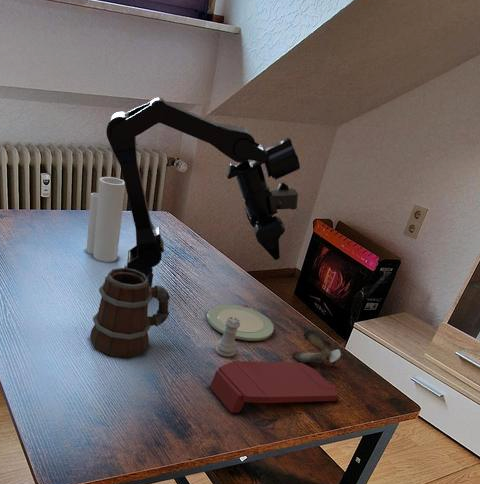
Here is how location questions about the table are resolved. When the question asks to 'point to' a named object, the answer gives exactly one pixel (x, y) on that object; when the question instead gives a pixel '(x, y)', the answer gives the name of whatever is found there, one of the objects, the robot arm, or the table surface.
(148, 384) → the table surface
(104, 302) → the mug
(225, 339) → the rook chess piece
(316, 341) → the eagle figurine
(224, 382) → the dark red wedge slab
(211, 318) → the plate
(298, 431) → the table surface
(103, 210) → the vase
